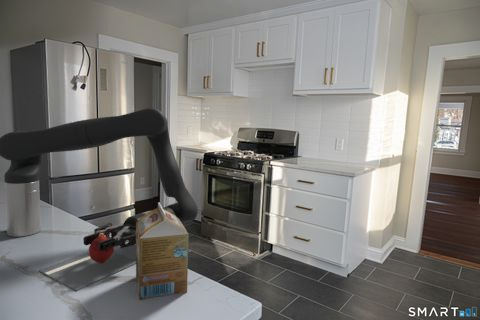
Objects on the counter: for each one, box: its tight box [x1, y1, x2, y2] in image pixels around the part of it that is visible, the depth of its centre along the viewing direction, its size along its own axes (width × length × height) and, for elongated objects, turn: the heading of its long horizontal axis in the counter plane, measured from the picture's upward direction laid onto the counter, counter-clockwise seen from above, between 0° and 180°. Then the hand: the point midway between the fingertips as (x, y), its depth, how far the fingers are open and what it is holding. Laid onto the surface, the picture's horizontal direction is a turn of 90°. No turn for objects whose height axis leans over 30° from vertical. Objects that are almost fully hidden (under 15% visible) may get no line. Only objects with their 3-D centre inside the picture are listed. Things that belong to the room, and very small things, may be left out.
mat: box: [38, 251, 136, 292], centre depth 83 cm, size 16×18×1 cm
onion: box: [88, 233, 115, 264], centre depth 80 cm, size 6×6×8 cm
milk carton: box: [135, 201, 190, 301], centre depth 74 cm, size 11×11×19 cm
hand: (91, 244), depth 77 cm, fingers closed on onion, 5 cm apart
